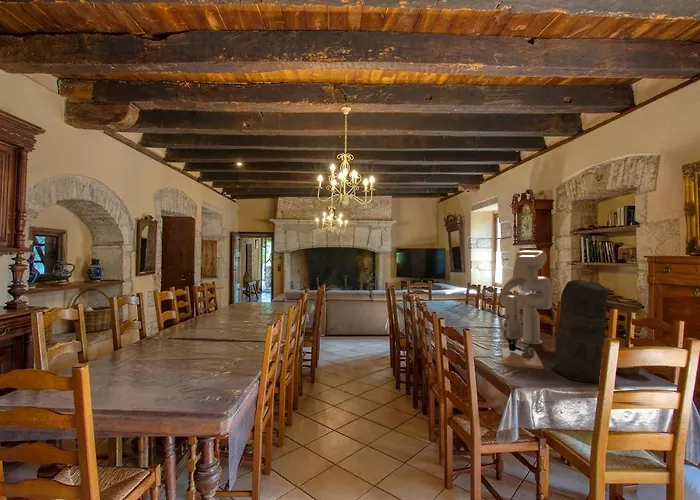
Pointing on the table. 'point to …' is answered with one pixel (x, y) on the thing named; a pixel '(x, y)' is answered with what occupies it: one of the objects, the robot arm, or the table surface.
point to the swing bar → (520, 348)
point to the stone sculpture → (581, 331)
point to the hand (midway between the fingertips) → (512, 350)
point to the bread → (628, 370)
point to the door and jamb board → (522, 358)
